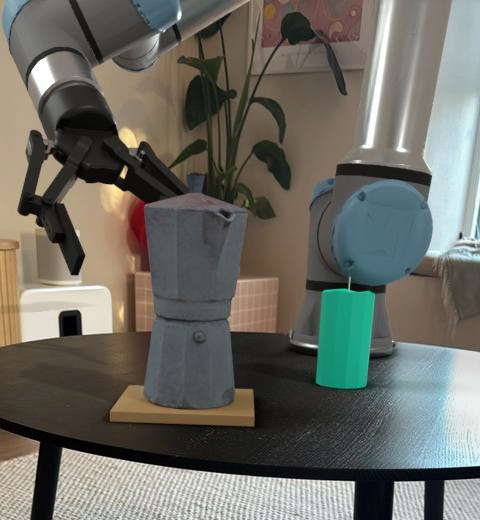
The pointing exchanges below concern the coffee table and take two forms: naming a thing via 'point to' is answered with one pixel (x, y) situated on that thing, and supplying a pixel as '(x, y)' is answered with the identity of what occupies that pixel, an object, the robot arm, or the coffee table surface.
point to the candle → (344, 338)
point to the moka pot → (192, 297)
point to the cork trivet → (182, 410)
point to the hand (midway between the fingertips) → (141, 266)
